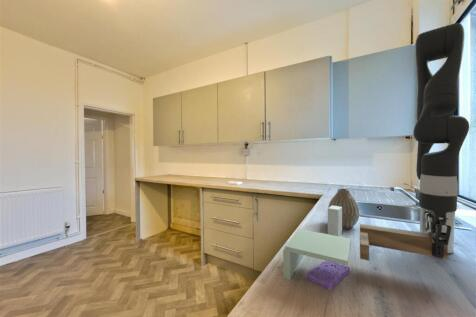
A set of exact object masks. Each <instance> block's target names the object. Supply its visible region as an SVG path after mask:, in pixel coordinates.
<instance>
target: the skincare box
mask: <svg viewBox="0 0 476 317" xmlns="http://www.w3.org/2000/svg"><path fill="white" fill-rule="evenodd" d="M327 234H328V235H334V236H339V237H342V236H343V235H342V234H343V229H342V207H339V206H333V205H332V206H331V207H329V208H328V207H327Z"/></svg>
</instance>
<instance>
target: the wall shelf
mask: <svg viewBox="0 0 476 317" xmlns="http://www.w3.org/2000/svg"><path fill="white" fill-rule="evenodd" d="M351 245H352V238H349V237H348V238H347V237H344V236H340V237H339V236H334V235H328V233H322V232H315V231H311V230H306V229H301V228H299V229H298V230H297V231H296V232H295V234H294V235H293V236H292V237H291V238H290V240H289V241H288V242H287V243H286V244H285V245H284V248H283V249H282V278H284V279H287V280H291V278H293V275H294V273H295V272H296V270H297V268H298V267H299V265H300V263H301V261H302V260H303V257H304V256H306V257H310V258H314V259H318V260H322V261H325V260H326V261H330V262H334V263H338V264H340V265H341V264H342V265H345V266H348V267H349V261H350V259H349V258H350V252H351V247H352V246H351Z"/></svg>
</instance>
